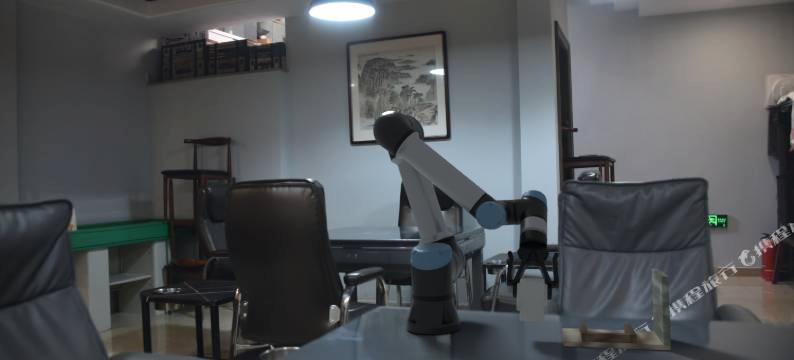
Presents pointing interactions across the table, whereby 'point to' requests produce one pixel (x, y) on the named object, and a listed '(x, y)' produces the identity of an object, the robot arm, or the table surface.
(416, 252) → the robot arm
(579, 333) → the display stand
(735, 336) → the table surface
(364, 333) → the table surface
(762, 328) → the table surface
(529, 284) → the grey upright block
